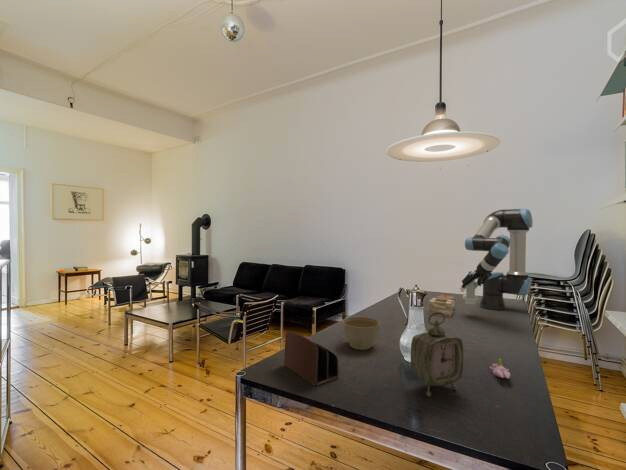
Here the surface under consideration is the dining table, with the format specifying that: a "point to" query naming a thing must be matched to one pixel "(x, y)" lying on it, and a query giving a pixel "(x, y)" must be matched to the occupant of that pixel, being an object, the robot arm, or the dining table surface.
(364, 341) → the planter bowl
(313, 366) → the letter holder
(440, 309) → the beige streaked bowl
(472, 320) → the dining table surface
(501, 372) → the pink flower
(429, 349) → the tabletop clock
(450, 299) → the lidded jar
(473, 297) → the grey green flanged column
